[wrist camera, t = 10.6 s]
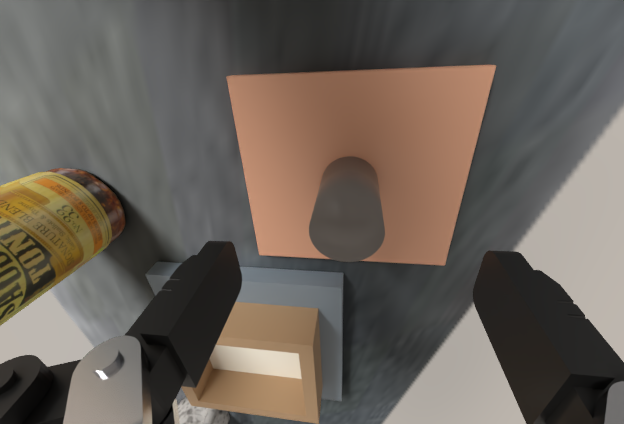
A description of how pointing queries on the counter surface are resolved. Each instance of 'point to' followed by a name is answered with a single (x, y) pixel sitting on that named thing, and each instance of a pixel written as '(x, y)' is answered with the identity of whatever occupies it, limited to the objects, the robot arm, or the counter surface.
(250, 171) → the lid
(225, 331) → the socket stand
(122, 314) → the counter surface
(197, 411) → the mug
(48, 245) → the sauce bottle
